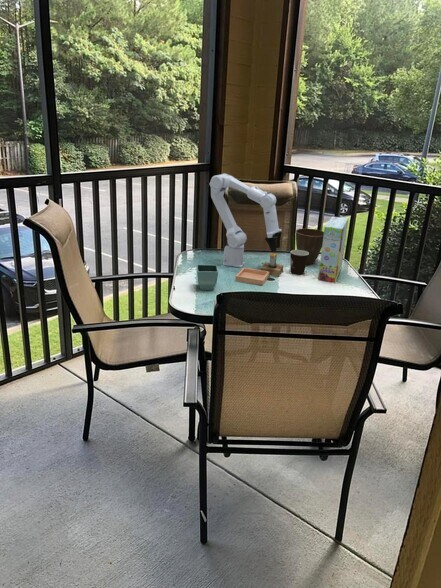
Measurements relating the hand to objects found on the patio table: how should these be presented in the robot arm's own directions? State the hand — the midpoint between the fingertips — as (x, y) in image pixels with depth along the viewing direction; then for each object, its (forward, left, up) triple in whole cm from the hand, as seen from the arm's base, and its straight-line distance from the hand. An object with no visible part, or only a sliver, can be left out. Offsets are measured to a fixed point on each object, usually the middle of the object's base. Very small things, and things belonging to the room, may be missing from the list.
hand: (275, 249), depth 214 cm
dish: (-7, -13, -11) cm, 18 cm away
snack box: (+25, +10, -11) cm, 29 cm away
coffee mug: (+10, +7, -11) cm, 17 cm away
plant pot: (+12, +23, -11) cm, 28 cm away
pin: (-1, 0, -11) cm, 11 cm away
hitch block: (-1, 0, -11) cm, 11 cm away
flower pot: (-22, -32, -11) cm, 41 cm away
